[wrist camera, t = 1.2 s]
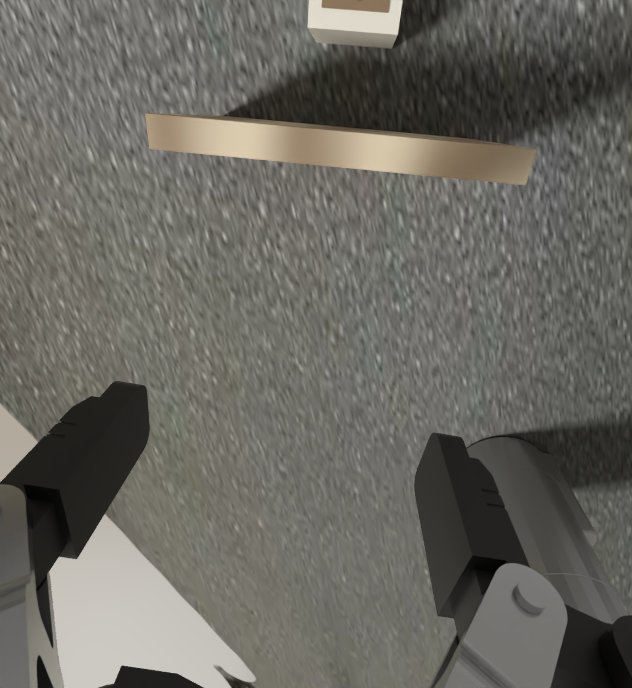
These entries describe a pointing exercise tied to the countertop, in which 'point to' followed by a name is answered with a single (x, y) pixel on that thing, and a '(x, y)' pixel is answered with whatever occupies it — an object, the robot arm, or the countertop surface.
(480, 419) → the countertop surface
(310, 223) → the countertop surface
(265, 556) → the countertop surface
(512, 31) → the countertop surface
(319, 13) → the cube
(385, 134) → the thin wooden plank
